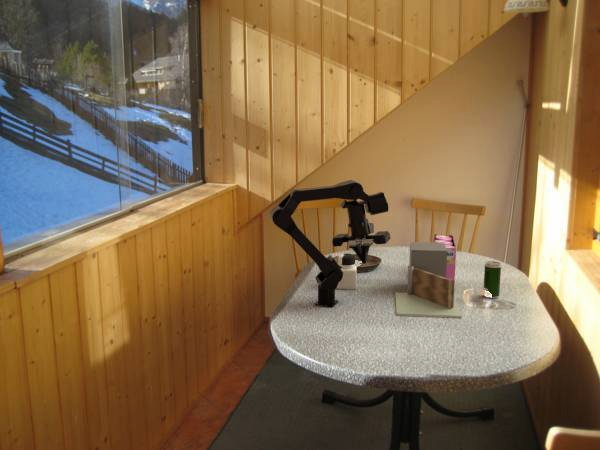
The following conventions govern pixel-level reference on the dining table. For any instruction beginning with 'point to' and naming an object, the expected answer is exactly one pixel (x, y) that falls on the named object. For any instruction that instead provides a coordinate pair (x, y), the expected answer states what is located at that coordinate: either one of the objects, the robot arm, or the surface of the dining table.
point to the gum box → (448, 254)
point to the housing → (429, 260)
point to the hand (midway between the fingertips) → (364, 263)
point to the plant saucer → (370, 264)
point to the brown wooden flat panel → (433, 287)
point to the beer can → (492, 278)
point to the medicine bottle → (347, 271)
